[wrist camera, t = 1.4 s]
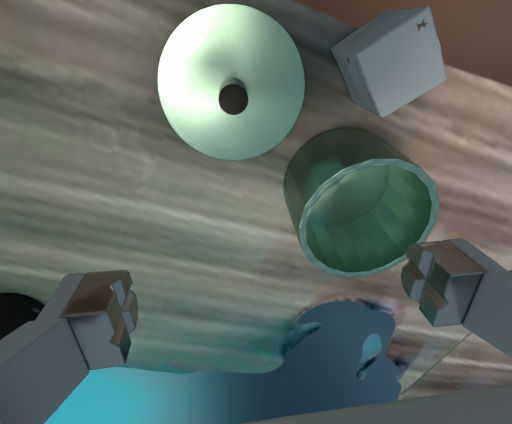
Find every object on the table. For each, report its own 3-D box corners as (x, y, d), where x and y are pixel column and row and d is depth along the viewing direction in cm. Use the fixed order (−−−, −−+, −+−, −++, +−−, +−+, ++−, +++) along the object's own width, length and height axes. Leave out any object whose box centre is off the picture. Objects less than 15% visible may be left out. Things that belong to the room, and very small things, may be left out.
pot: (343, 101, 32) (382, 125, 24) (414, 175, 38) (464, 215, 30) (260, 189, 37) (269, 234, 29) (333, 244, 42) (358, 295, 34)
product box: (328, 47, 30) (355, 52, 23) (387, 8, 28) (432, 2, 22) (351, 102, 33) (381, 120, 26) (406, 69, 31) (450, 79, 25)
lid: (219, -39, 26) (217, -53, 21) (331, 80, 31) (348, 89, 27) (131, 98, 31) (115, 110, 26) (241, 180, 36) (244, 201, 32)
